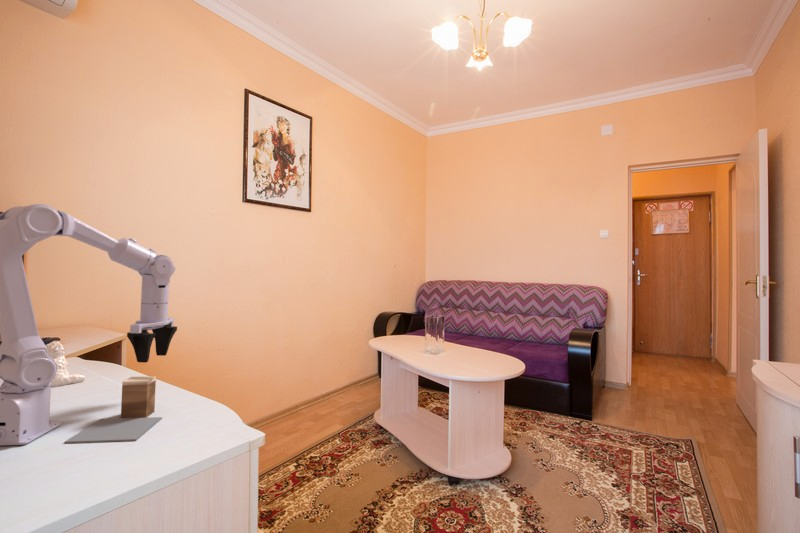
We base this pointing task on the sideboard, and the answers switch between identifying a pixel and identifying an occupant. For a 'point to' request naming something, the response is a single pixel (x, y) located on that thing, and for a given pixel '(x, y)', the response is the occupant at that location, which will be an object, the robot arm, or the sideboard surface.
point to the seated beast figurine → (62, 366)
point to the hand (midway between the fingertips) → (152, 358)
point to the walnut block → (138, 397)
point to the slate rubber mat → (115, 430)
